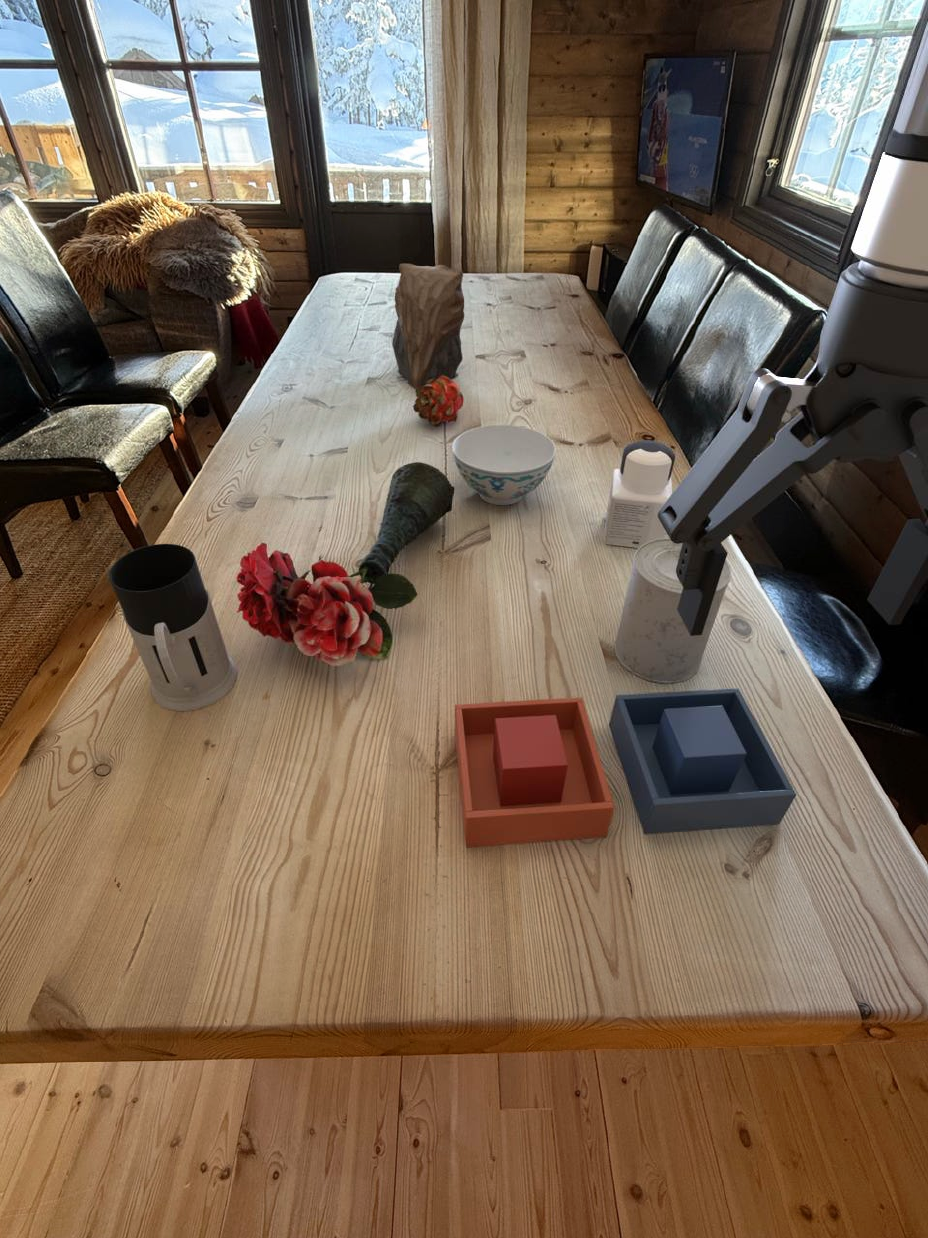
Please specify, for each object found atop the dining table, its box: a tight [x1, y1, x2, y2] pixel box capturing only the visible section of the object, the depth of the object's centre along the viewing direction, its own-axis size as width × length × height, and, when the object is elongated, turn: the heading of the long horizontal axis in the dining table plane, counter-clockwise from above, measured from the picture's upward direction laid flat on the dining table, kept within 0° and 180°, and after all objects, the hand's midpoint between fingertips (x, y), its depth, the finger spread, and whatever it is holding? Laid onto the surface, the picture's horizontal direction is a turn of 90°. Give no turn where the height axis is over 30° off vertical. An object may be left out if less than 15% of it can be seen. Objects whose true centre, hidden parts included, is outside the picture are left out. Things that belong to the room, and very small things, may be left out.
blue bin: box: [608, 687, 797, 835], centre depth 60 cm, size 12×12×4 cm
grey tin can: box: [613, 537, 732, 684], centre depth 70 cm, size 10×10×12 cm
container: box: [603, 439, 676, 549], centre depth 88 cm, size 8×8×13 cm
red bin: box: [454, 696, 616, 848], centre depth 59 cm, size 12×12×4 cm
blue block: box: [653, 706, 747, 795], centre depth 60 cm, size 6×6×6 cm
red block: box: [493, 715, 568, 806], centre depth 59 cm, size 6×6×6 cm
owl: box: [391, 263, 465, 389], centre depth 130 cm, size 13×13×20 cm
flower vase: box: [236, 461, 456, 667], centre depth 79 cm, size 16×18×35 cm
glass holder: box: [108, 543, 238, 712], centre depth 63 cm, size 9×14×15 cm, turn 20°
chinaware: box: [451, 424, 557, 506], centre depth 98 cm, size 15×15×8 cm
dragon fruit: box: [412, 376, 465, 427], centre depth 118 cm, size 8×8×12 cm
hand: (786, 617), depth 44 cm, fingers open, 13 cm apart
